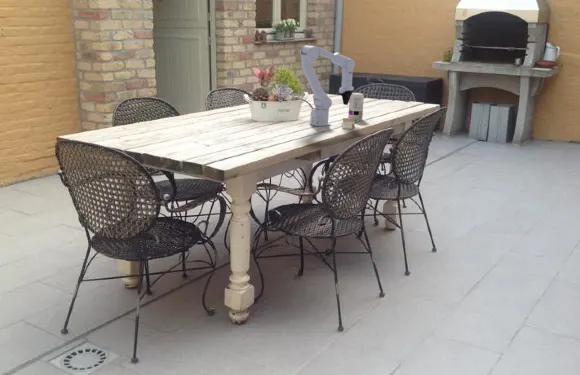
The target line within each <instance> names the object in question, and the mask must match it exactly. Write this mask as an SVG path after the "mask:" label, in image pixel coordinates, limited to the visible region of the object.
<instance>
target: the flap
mask: <svg viewBox="0 0 580 375" xmlns="http://www.w3.org/2000/svg"><path fill="white" fill-rule="evenodd" d="M353 122H354V120H353V119H349V118H346V117H343V118H342V123H343V126H342V125H341V128H342V130H350V129H353V128H352V124H353Z"/></svg>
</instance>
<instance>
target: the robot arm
mask: <svg viewBox="0 0 580 375" xmlns="http://www.w3.org/2000/svg"><path fill="white" fill-rule="evenodd" d="M299 55H300V67H301V69H302V71H303V74H304V75H305V77H306V80H307V82H308V84H309V87H310V89H311V90H312V93H313V95H312V99H313V105H314V107H315V108H313V109H311V111H310V122H309V125H312V126H314V127H322V126H323V127H325V126H332V124H330V123H329V114H330V113H329V111H330V108H331V107H332V104H333V102H332V99H331V98H330V97H329V96H328V94H327V93H326V92H325V91H324V89H323V87H322V85H321V83H320V81H319V79H318V78H319V77H318V76H317V74H316V71H315V69H314V67H313V65H314V63H315V62H316V60H317V59H318V57H322V58H323V57H324V58H327V59H328V60H330V61H331V63H332V64H335V65H338V66H339V67H341V68H342V69H341V87H339V89H338V93H339V94H340V96H341V98H342V103H343V105H344V106H347V105H348V106H349V99H350V96H351V95H352V93H353V91H354V86H353V74H354V73H353V72H354V68H355V66H356V63H355V60H354V59H353V58H350V57H348V56H347V55H342V53H341V52H335V53H333V52H331V51H328V50H327V49H324V48H322V47H318V46H316V45H308V44H305V45H302V47H301V49H300V52H299Z"/></svg>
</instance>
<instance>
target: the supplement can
mask: <svg viewBox="0 0 580 375" xmlns="http://www.w3.org/2000/svg"><path fill="white" fill-rule="evenodd" d="M364 99H365V96H364V94H363V93H361V92H352V95H351V96H350V99H349V103H348V118H349V119H353V121H362V119H363V117H364V115H363V113H364Z"/></svg>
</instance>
